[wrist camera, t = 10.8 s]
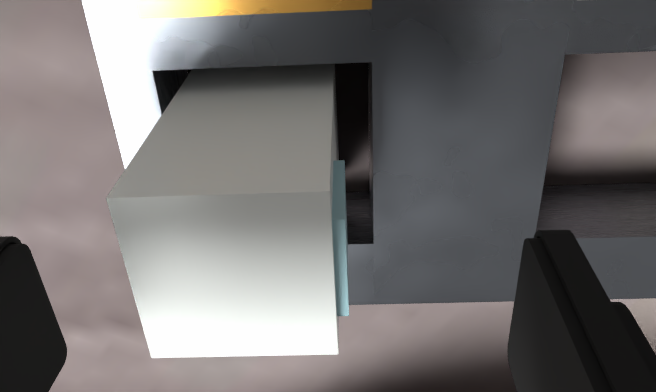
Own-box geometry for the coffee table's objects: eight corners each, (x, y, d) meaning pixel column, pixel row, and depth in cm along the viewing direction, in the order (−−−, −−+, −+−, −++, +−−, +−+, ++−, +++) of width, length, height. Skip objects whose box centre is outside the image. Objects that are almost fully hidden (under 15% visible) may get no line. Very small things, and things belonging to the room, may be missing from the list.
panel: (804, -79, 15) (908, -63, 12) (697, 238, 20) (753, 300, 17) (119, -47, 16) (71, -24, 13) (183, 252, 21) (159, 313, 18)
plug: (342, 52, 17) (343, 190, 10) (347, 172, 19) (350, 354, 12) (199, 58, 17) (106, 198, 10) (218, 176, 19) (151, 358, 12)
